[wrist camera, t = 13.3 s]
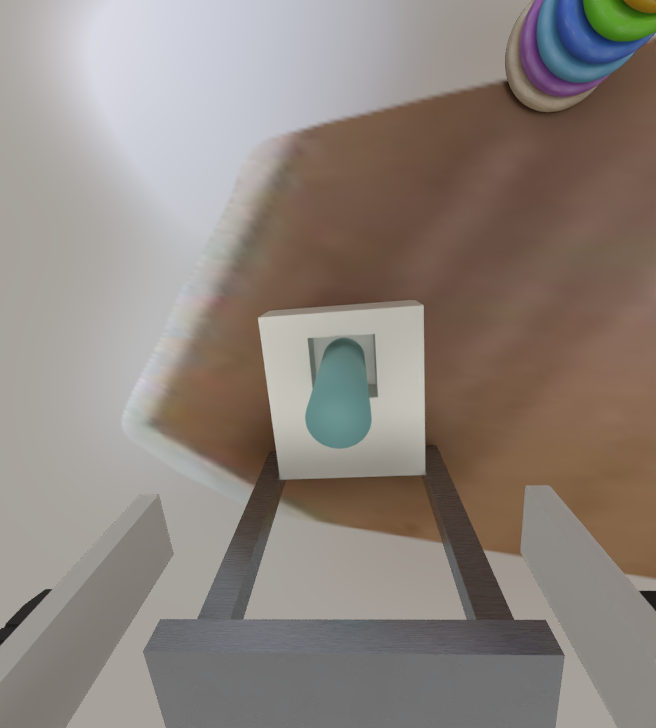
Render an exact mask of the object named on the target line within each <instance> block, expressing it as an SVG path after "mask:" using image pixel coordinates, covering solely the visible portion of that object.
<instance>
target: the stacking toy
mask: <svg viewBox="0 0 656 728" xmlns="http://www.w3.org/2000/svg"><path fill="white" fill-rule="evenodd" d="M655 33H656V0H533V1H531V3H529V5H528V6H527V7H526V8H525V9H524V10H523V12H522V13H521V15H520V16H519V18H518V19H517V21H516V23H515V25H514V27H513V29H512V32H511V34H510V37H509V40H508V44H507V49H506V55H505V68H506V76H507V79H508V83H509V85H510V88H511V90H512V91H513V93H514V94H515V96H516V97H517V98H518V99H519V100H520V101H521V102H522V103H523V104H524V105H526V106H528V107H529V108H531V109H534V110H537V111H541V112H556V111H560V110H564V109H566V108H569V107H571V106H573V105H575V104H577V103H579V102H580V101H582V100H583V99H584V98H586V97H587V96H588V95H589V94H590V93H592V92H593V91H594V90H595V88H596V87H597V86H598V85H599V84H600V83H601V82H603V81H604V80H605V79H606V78H607V77H608V76H609V75H610V74H612V72H614V71H615V70H617V69H618V68H619V67H621V66H622V65H623V64H624V63H625V62H626V61H628V60H629V59H630V57H631V56H632V55H633V54H634V53H635V52H636V51H637V49H639V48H640V47H641V46H643V45H644V44H645V43H646V42H647V41H648V40H649V39H650V38H651V37H652V36H653V35H654V34H655Z"/></svg>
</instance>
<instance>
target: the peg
mask: <svg viewBox="0 0 656 728" xmlns="http://www.w3.org/2000/svg"><path fill="white" fill-rule="evenodd" d="M305 421H306V426H307V429H308V431H309V433H310V434H311V435H312V437H313V438H314V439H315V440H316V441H318V442H319V443H321V444H322V445H324V446H327V447H330V448H336V449H342V448H348V447H351V446H354V445H356V444H358V443H359V442H360V441H362V440H363V439H364V438H365V436H366V435H367V434H368V432H369V430H370V427H371V422H372V416H371V407H370V399H369V390H368V382H367V373H366V365H365V356H364V351H363V349H362V347H361V346H360V345H359V344H358V343H357V342H356V341H354V340H352V339H349V338H339V339H336V340H334V341H332V342H331V343H330V344H329V345H328V346H327V347H326V349H325V351H324V355H323V358H322V361H321V364H320V367H319V371H318V374H317V377H316V380H315V383H314V387H313V390H312V393H311V396H310V399H309V402H308V406H307V409H306V413H305Z"/></svg>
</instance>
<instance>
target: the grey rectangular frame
mask: <svg viewBox="0 0 656 728" xmlns="http://www.w3.org/2000/svg"><path fill="white" fill-rule="evenodd" d="M421 476H422V479H423V482H424V485H425V488H426V492H427V495H428V498H429V501H430V504H431V508H432V511H433V514H434V517H435V520H436V523H437V527H438V530H439V533H440V536H441V539H442V542H443V546H444V549H445V552H446V555H447V558H448V561H449V565H450V568H451V571H452V574H453V577H454V580H455V584H456V587H457V590H458V593H459V596H460V599H461V602H462V606H463V609H464V612H465V615H466V618H467V620H243V618H244V615H245V611H246V608H247V604H248V602H249V598H250V595H251V592H252V589H253V585H254V582H255V579H256V576H257V572H258V569H259V566H260V562H261V559H262V556H263V553H264V549H265V546H266V543H267V540H268V536H269V533H270V530H271V527H272V523H273V520H274V517H275V514H276V510H277V507H278V504H279V501H280V497H281V494H282V491H283V488H284V484H285V481H286V480H280V475H279V468H278V461H277V454H276V452H270V453H269V455H268V457H267V460H266V462H265V464H264V467H263V469H262V471H261V474H260V476H259V478H258V480H257V483H256V485H255V487H254V490H253V492H252V494H251V497H250V499H249V501H248V504H247V506H246V508H245V510H244V513H243V515H242V517H241V520H240V522H239V524H238V527H237V529H236V531H235V534H234V536H233V538H232V540H231V543H230V545H229V547H228V550H227V552H226V554H225V556H224V559H223V561H222V563H221V566H220V568H219V570H218V573H217V575H216V577H215V579H214V582H213V584H212V586H211V589H210V591H209V593H208V596H207V598H206V600H205V602H204V605H203V607H202V609H201V612H200V614H199V616H198V619H196V620H195V619H182V620H180V619H179V620H178V619H166V620H165V619H163V620H160V621H159V623H158V625H157V627H156V629H155V630H154V632H153V634H152V636H151V638H150V640H149V641H148V643H147V645H146V647H145V649H144V651H143V653H144V656H145V659H146V663H147V666H148V669H149V672H150V676H151V679H152V683H153V686H154V689H155V693H156V696H157V699H158V703H159V706H160V709H161V713H162V716H163V719H164V723H165V726H166V728H555V726H556V718H557V710H558V702H559V695H560V687H561V679H562V672H563V663H564V656H565V655H564V653H563V652H562V650H561V648H560V646H559V644H558V642H557V640H556V639H555V637H554V635H553V633H552V631H551V629H550V627H549V626H548V623H547V622H546V620H514V618H513V616H512V614H511V612H510V609H509V607H508V605H507V603H506V600H505V598H504V596H503V594H502V591H501V589H500V587H499V585H498V583H497V580H496V578H495V576H494V574H493V571H492V569H491V567H490V565H489V562H488V560H487V558H486V556H485V553H484V551H483V549H482V547H481V544H480V542H479V540H478V538H477V535H476V533H475V531H474V529H473V527H472V524H471V522H470V520H469V518H468V515H467V513H466V511H465V509H464V506H463V504H462V502H461V500H460V497H459V495H458V493H457V491H456V488H455V486H454V484H453V482H452V479H451V477H450V475H449V473H448V471H447V468H446V466H445V464H444V462H443V459H442V457H441V455H440V453H439V450H438V448H437V446H425V475H421Z"/></svg>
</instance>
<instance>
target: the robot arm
mask: <svg viewBox="0 0 656 728" xmlns="http://www.w3.org/2000/svg"><path fill="white" fill-rule="evenodd" d="M520 552H521V554H522V556H523V558H524V560H525V561H526V563H527V565H528V567H529V569H530V570H531V572H532V574H533V576H534V577H535V579H536V581H537V583H538V585H539V587H540V588H541V590H542V592H543V594H544V596H545V597H546V599H547V601H548V603H549V605H550V606H551V608H552V610H553V612H554V614H555V616H556V617H557V619H558V621H559V623H560V624H561V626H562V628H563V630H564V632H565V634H566V635H567V637H568V639H569V640H570V643H571V644H572V646H573V648H574V650H575V652H576V653H577V655H578V657H579V659H580V661H581V663H582V664H583V666H584V668H585V670H586V672H587V673H588V675H589V677H590V679H591V680H592V682H593V684H594V686H595V688H596V690H597V691H598V693H599V695H600V697H601V699H602V701H603V702H604V704H605V706H606V708H607V710H608V711H609V713H610V715H611V717H612V718H613V720H614V722H615V724H616V726H617V728H656V591H638V590H637V589H636V587H635V586H634V585H633V584H632V583H631V581H630V580H629V579H628V578H627V577H626V575H625V574H624V573H623V572H622V571H621V570H620V568H619V567H618V566H617V565H616V564H615V562H614V561H613V560H612V559H611V558H610V557H609V555H608V554H607V553H606V552H605V551H604V549H603V548H602V547H601V546H600V545H599V543H598V542H597V541H596V540H595V539H594V538H593V536H592V535H591V534H590V533H589V532H588V530H587V529H586V528H585V527H584V526H583V525H582V523H581V522H580V521H579V520H578V519H577V517H576V516H575V515H574V514H573V513H572V511H571V510H570V509H569V508H568V507H567V506H566V504H565V503H564V502H563V501H562V500H561V498H560V497H559V496H558V495H557V494H556V493H555V491H554V490H553V489H552V488H551V487H550V485H540V486H526V487H525V499H524V512H523V525H522V538H521V550H520ZM172 556H173V550H172V546H171V542H170V537H169V534H168V529H167V526H166V521H165V517H164V513H163V509H162V505H161V501H160V497H159V494H155V495H154V494H151V495H139V496H138V497H137V498H136V499H135V500H134V501H133V502H132V504H131V505H130V506H129V507H128V508H127V509H126V510H125V511H124V512H123V513H122V514H121V515H120V517H119V518H118V519H117V520H116V521H115V522H114V523H113V524H112V525H111V526H110V528H109V529H108V530H107V531H106V532H105V533H104V534H103V535H102V536H101V537H100V538H99V540H98V541H97V542H96V543H95V544H94V545H93V546H92V547H91V548H90V549H89V550H88V551H87V553H86V554H85V555H84V556H83V557H82V558H81V559H80V560H79V561H78V562H77V563H76V564H75V565H74V566H73V568H72V569H71V570H70V571H69V572H68V573H67V574H66V575H65V576H64V577H63V578H62V580H61V581H60V582H59V583H58V584H57V585H56V586H55V587H54V588H53V589H46V590H44V591H43V592H41V593H40V594H38V595H37V596H36V597H34V598H33V599H32V600H30V601H29V602H28V603H26V604H25V605H24V606H23V607H22V608H21V609H20V610H19V611H18V612H17V613H16V614H15V615H14V616H13V617H12V618H11V619H10V620H9V621H8V622H7V623H6V626H5V627H4V628H2V629H0V728H66V726H67V724H68V723H69V721H70V720H71V718H72V716H73V715H74V713H75V712H76V710H77V709H78V707H79V705H80V704H81V702H82V701H83V699H84V697H85V696H86V694H87V692H88V691H89V689H90V688H91V686H92V684H93V683H94V681H95V680H96V678H97V676H98V675H99V673H100V671H101V670H102V668H103V667H104V665H105V663H106V662H107V660H108V659H109V657H110V655H111V654H112V652H113V651H114V649H115V647H116V646H117V644H118V643H119V641H120V639H121V638H122V636H123V635H124V633H125V631H126V630H127V628H128V626H129V625H130V623H131V622H132V620H133V619H134V617H135V615H136V614H137V612H138V611H139V609H140V607H141V606H142V604H143V602H144V601H145V599H146V598H147V596H148V594H149V593H150V591H151V590H152V588H153V586H154V585H155V583H156V581H157V580H158V578H159V577H160V575H161V573H162V572H163V570H164V569H165V567H166V565H167V564H168V562H169V561H170V559H171V557H172Z"/></svg>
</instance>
